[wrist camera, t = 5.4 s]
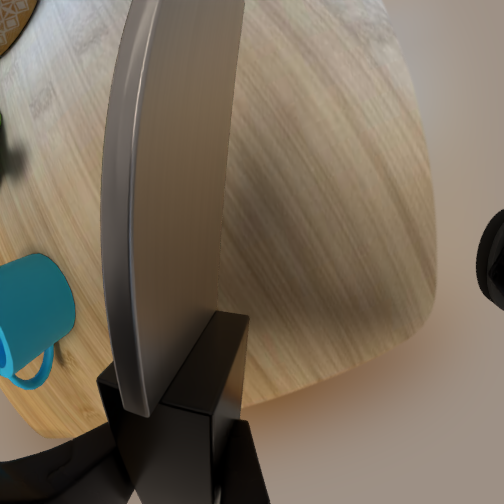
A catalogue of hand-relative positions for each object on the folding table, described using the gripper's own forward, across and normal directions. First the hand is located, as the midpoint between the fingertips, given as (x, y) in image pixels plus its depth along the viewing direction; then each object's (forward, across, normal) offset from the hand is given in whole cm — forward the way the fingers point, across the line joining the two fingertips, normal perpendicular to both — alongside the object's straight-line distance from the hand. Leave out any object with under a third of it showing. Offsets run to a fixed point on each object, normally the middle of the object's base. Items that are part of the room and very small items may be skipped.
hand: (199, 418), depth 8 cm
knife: (+1, 0, -5) cm, 5 cm away
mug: (+11, +19, +6) cm, 23 cm away
